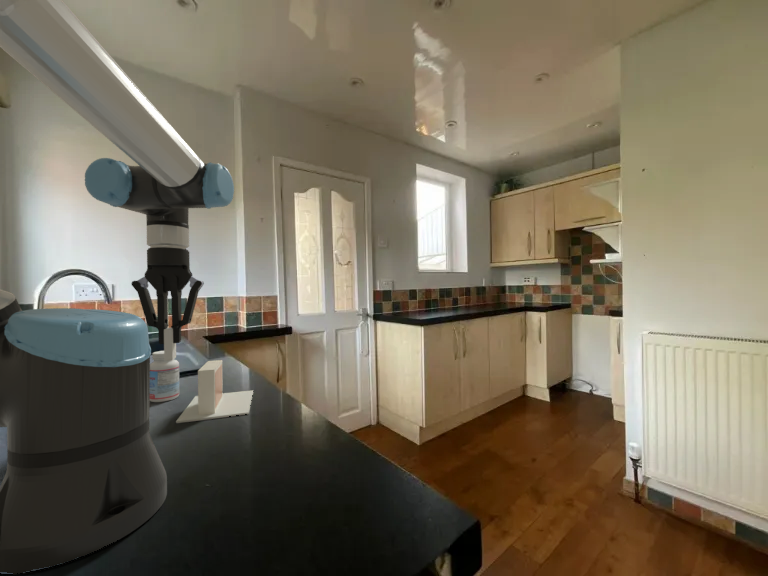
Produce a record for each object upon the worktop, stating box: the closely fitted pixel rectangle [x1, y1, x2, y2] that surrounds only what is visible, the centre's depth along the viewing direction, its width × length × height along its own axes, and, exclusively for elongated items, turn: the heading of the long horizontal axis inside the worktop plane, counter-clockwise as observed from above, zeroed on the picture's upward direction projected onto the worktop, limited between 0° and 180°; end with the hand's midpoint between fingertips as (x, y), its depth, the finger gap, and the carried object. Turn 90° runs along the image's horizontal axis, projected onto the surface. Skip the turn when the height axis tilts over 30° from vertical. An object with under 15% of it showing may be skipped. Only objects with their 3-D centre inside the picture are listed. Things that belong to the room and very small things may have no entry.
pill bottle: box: [150, 350, 180, 403], centre depth 77 cm, size 6×6×11 cm
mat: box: [175, 389, 254, 424], centre depth 72 cm, size 16×13×1 cm
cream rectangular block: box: [197, 359, 224, 415], centre depth 71 cm, size 10×3×9 cm, turn 18°
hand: (170, 358), depth 69 cm, fingers closed
